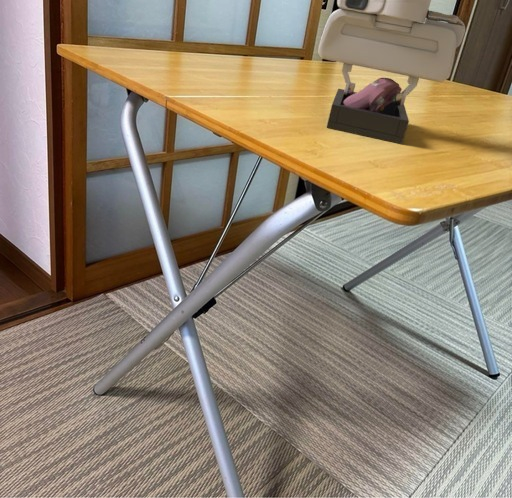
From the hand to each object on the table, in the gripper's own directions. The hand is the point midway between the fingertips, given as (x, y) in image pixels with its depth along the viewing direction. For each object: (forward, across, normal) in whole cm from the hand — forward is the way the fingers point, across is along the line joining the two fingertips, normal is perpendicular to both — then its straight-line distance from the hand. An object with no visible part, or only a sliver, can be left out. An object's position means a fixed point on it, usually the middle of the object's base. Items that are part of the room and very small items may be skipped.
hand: (372, 99), depth 82 cm
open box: (+4, 0, 0) cm, 4 cm away
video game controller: (+2, 0, 0) cm, 2 cm away
